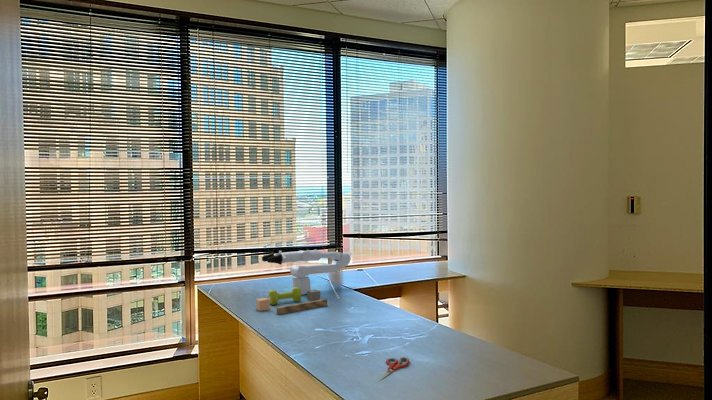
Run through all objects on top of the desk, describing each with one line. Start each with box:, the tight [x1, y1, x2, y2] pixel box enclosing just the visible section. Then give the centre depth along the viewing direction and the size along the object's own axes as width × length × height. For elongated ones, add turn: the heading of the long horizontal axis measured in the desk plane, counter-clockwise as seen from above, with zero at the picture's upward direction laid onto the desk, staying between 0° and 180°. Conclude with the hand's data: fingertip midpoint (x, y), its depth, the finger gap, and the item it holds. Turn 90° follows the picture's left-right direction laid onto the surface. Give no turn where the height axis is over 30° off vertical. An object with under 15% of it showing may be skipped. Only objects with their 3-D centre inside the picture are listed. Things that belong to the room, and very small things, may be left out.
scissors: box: [377, 356, 410, 383], centre depth 153 cm, size 8×21×2 cm, turn 164°
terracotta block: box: [255, 297, 271, 312], centre depth 240 cm, size 5×5×5 cm
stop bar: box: [276, 298, 328, 316], centre depth 236 cm, size 26×2×3 cm, turn 123°
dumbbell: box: [268, 287, 302, 306], centre depth 253 cm, size 16×8×7 cm, turn 113°
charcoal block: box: [306, 289, 322, 302], centre depth 255 cm, size 5×5×5 cm
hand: (264, 259), depth 262 cm, fingers open, 7 cm apart
